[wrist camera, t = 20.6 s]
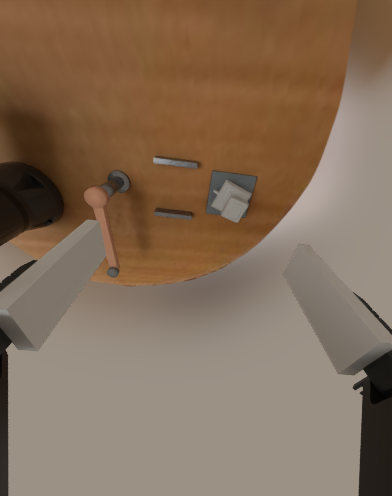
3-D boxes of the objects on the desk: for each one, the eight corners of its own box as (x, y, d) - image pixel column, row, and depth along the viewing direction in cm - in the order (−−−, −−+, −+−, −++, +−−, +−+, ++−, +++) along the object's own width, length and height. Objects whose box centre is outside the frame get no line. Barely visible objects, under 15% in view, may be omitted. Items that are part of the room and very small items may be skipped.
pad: (205, 212, 45) (205, 213, 45) (212, 170, 40) (212, 171, 39) (244, 216, 46) (244, 217, 45) (256, 176, 40) (257, 176, 40)
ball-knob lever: (86, 184, 32) (79, 189, 30) (107, 186, 32) (100, 190, 30) (110, 269, 44) (105, 276, 42) (124, 270, 44) (121, 277, 42)
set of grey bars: (113, 206, 45) (94, 223, 37) (104, 149, 38) (78, 155, 30) (191, 215, 46) (189, 234, 38) (197, 161, 39) (197, 170, 31)
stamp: (253, 192, 42) (264, 205, 35) (237, 215, 45) (244, 232, 38) (220, 173, 40) (224, 184, 33) (206, 200, 43) (207, 214, 36)
